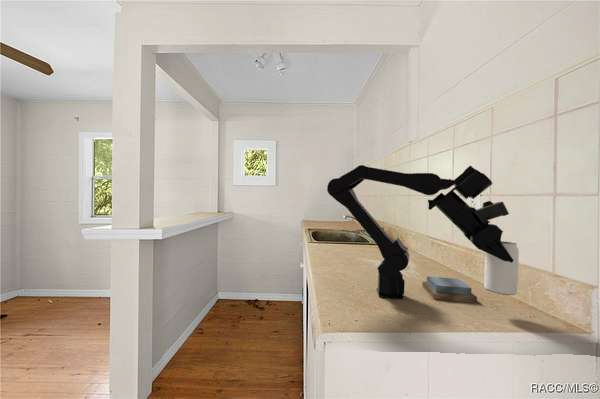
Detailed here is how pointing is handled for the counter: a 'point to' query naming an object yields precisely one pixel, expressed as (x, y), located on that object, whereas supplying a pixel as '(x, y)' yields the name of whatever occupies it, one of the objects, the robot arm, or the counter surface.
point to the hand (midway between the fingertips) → (508, 259)
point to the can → (502, 271)
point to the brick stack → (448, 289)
